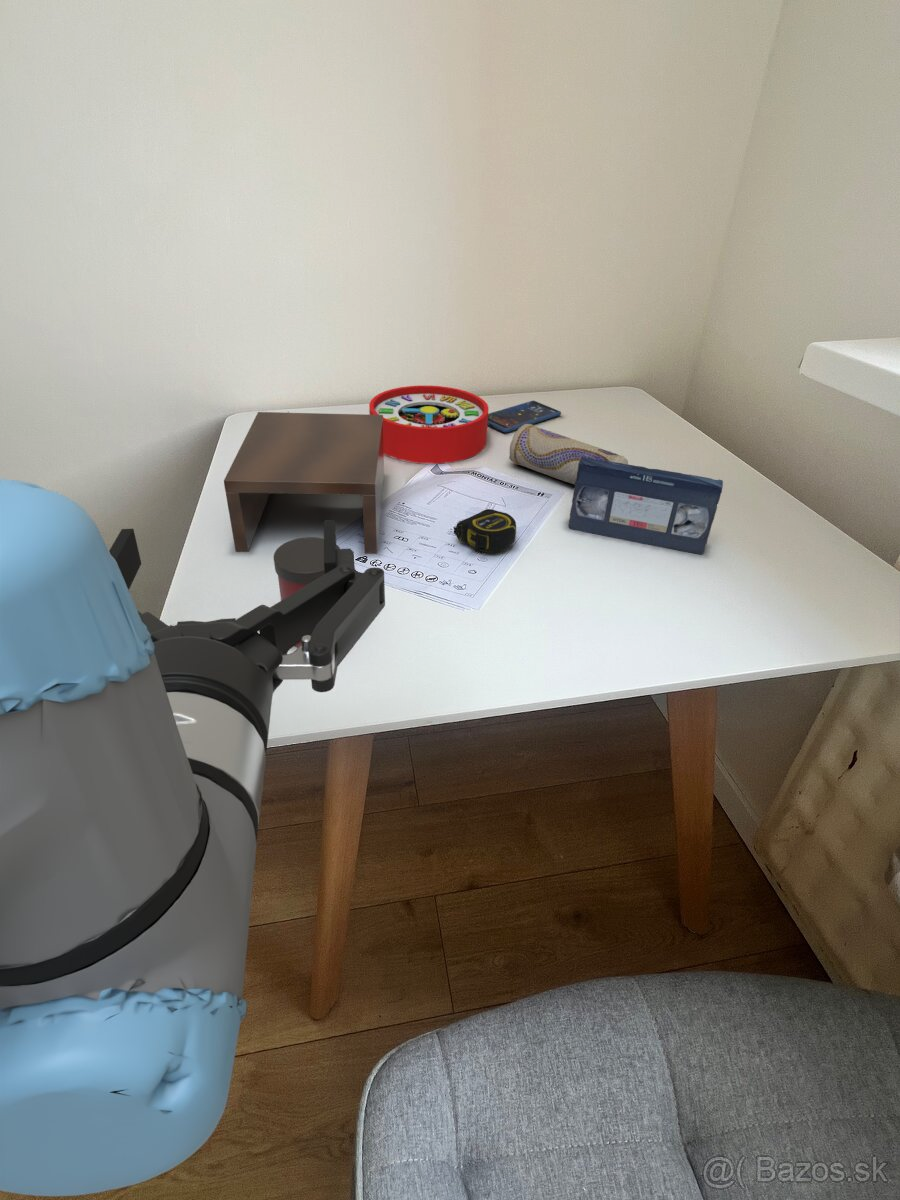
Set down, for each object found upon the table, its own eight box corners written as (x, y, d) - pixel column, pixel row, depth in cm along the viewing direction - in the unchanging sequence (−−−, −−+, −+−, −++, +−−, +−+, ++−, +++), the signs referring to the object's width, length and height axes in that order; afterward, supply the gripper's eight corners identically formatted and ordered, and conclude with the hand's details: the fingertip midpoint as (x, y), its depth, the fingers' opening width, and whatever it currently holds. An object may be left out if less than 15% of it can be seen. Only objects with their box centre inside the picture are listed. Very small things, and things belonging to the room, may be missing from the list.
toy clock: (484, 387, 125) (493, 430, 109) (482, 418, 128) (490, 465, 112) (372, 383, 124) (364, 427, 108) (373, 415, 128) (365, 462, 111)
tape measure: (488, 526, 97) (490, 502, 94) (525, 546, 93) (528, 521, 90) (452, 542, 93) (453, 517, 90) (489, 564, 89) (491, 538, 87)
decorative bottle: (503, 469, 111) (507, 429, 107) (529, 455, 116) (534, 417, 112) (652, 524, 99) (662, 482, 95) (674, 506, 103) (685, 464, 100)
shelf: (235, 551, 89) (223, 480, 83) (266, 474, 107) (257, 411, 101) (377, 553, 90) (375, 483, 84) (384, 477, 108) (382, 414, 102)
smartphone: (476, 416, 126) (533, 399, 135) (476, 420, 127) (532, 403, 135) (505, 429, 122) (562, 411, 130) (505, 434, 122) (562, 415, 131)
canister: (278, 651, 74) (268, 572, 68) (288, 612, 79) (279, 536, 73) (343, 651, 74) (338, 573, 68) (348, 612, 79) (344, 537, 74)
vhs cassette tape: (566, 528, 97) (577, 462, 91) (571, 519, 99) (581, 453, 93) (703, 557, 92) (723, 489, 86) (704, 546, 94) (724, 479, 88)
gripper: (457, 660, 31) (408, 485, 49) (-165, 705, 28) (28, 499, 46) (452, 782, 35) (409, 578, 53) (-94, 836, 31) (58, 597, 49)
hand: (233, 541), depth 49 cm, fingers open, 13 cm apart
